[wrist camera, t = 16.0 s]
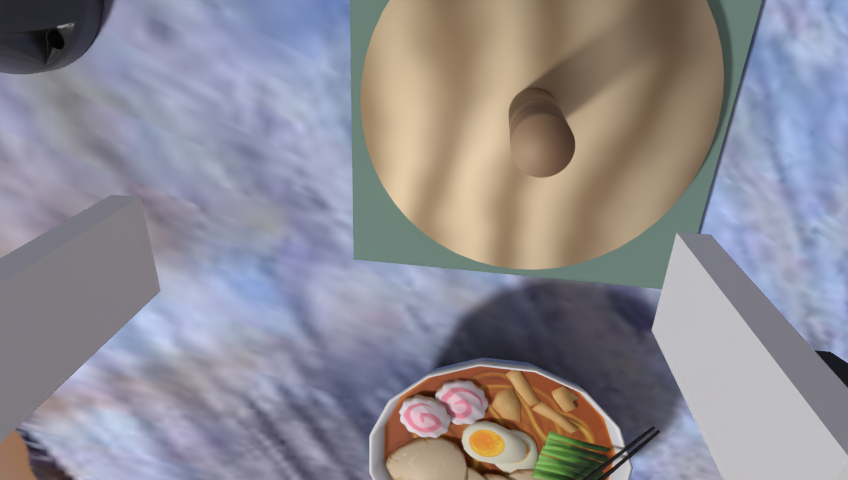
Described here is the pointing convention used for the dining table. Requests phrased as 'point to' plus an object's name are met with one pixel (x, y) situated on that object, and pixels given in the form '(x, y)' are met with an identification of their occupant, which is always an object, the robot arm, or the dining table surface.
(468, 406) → the ramen bowl
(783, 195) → the dining table surface
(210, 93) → the dining table surface
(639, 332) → the dining table surface
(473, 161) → the lid
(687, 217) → the mat
